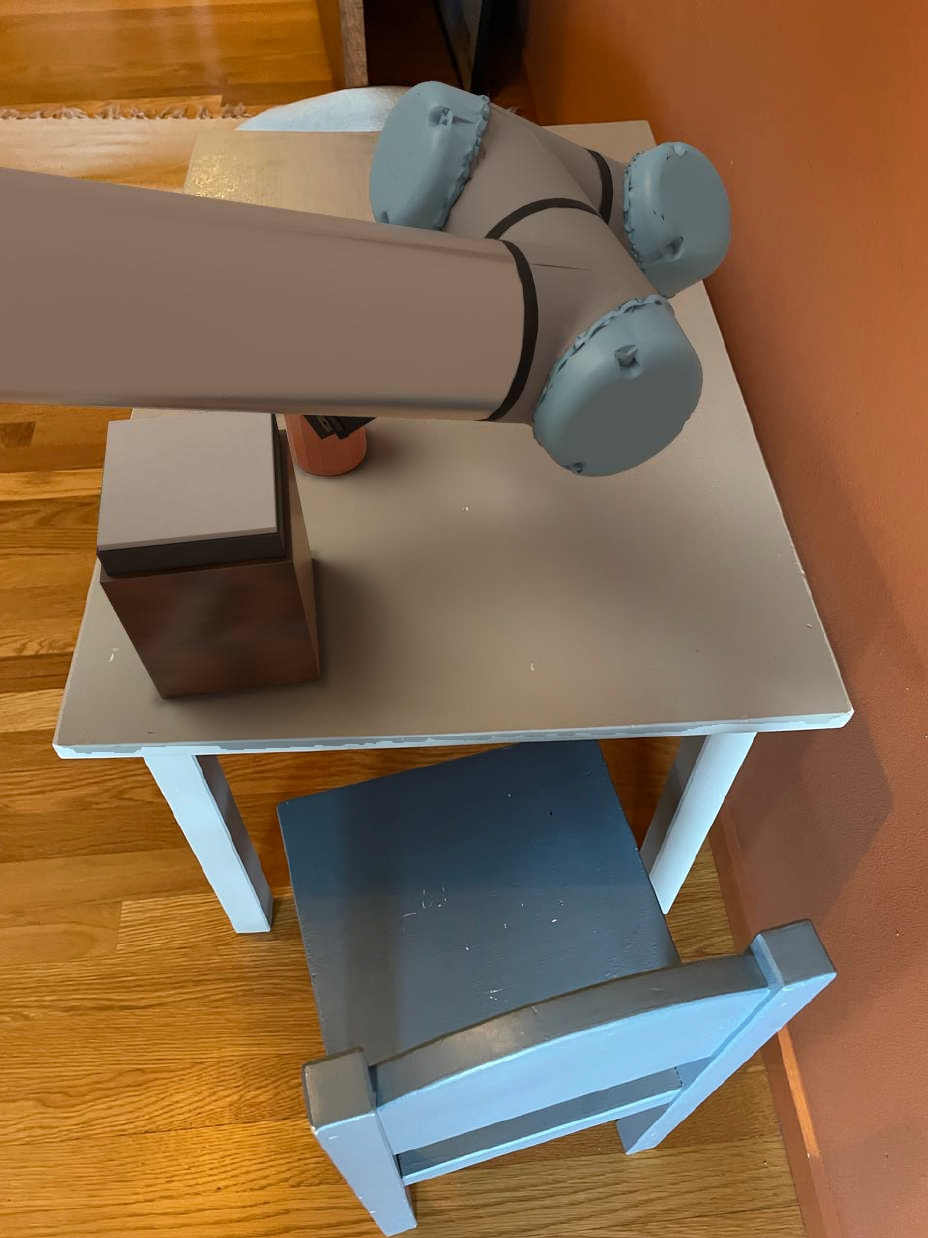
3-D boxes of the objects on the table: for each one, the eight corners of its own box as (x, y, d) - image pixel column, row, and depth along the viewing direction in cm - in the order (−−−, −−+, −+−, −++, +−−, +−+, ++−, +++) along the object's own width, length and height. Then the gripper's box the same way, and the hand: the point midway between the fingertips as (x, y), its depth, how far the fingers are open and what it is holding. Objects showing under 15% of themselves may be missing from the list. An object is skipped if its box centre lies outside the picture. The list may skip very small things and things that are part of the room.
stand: (161, 698, 74) (98, 582, 61) (166, 573, 81) (111, 444, 68) (320, 679, 75) (293, 561, 62) (311, 557, 83) (285, 428, 69)
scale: (102, 576, 61) (87, 548, 59) (114, 449, 68) (101, 419, 65) (285, 556, 62) (279, 528, 60) (279, 433, 69) (273, 403, 67)
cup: (293, 479, 88) (274, 383, 78) (290, 426, 92) (271, 328, 82) (370, 472, 89) (360, 376, 79) (363, 419, 93) (353, 321, 83)
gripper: (439, 450, 57) (296, 500, 74) (641, 259, 68) (475, 342, 86) (368, 348, 54) (236, 425, 71) (590, 167, 66) (430, 271, 83)
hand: (366, 380), depth 79 cm, fingers open, 13 cm apart
